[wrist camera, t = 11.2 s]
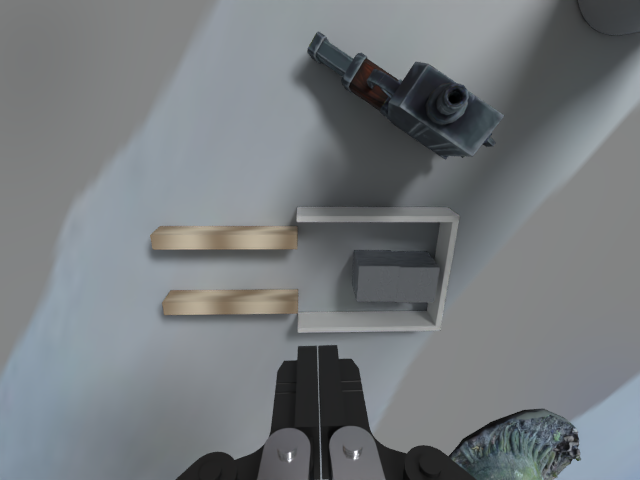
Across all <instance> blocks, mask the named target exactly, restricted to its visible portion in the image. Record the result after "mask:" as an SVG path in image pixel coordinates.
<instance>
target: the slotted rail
mask: <svg viewBox="0 0 640 480" xmlns="http://www.w3.org/2000/svg"><path fill="white" fill-rule="evenodd" d="M150 237H151V242H152V248H153V250H169V249H297V241H298V233H297V226H160V227H159V228H158V229H156V230H155V231H154V232H153V233H152V234H151V235H150ZM162 305H163V310H164V315H209V314H297V313H298V289H289V290H171V291H170V292H169V293H168V295H167V296H166V298H165V299H164V301H163V302H162Z"/></svg>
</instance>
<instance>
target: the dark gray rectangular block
mask: <svg viewBox="0 0 640 480" xmlns="http://www.w3.org/2000/svg"><path fill="white" fill-rule="evenodd" d="M399 269H400V266H399V264H398V262H397V260H396V259H395V257H394V255H393V253H392V251H391V250H354V259H353V275H352V285H353V289H354V293H355V297H356V301H357V302H396V294H397V286H398V278H399Z"/></svg>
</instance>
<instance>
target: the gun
mask: <svg viewBox="0 0 640 480" xmlns="http://www.w3.org/2000/svg"><path fill="white" fill-rule="evenodd" d="M307 52H308V54H309V55H310V56H311V58H312V59H314V60H315V61H317V62H318V63H320V62H322V63H324V64H325V65H327V66H328V67H330V68H331V69H333V70H334V71H335V72H337V73H338V74H340V75H341V76H343V78H342V84H343V86H344V87H345V89H346V90H348V91H349V92H353V93H355V94H356V95H358V96H359V97H361V98H362V99H364V100H365V101H367V102H368V103H369V104H371V105H372V106H374V107H375V108H377V109H378V110H379V111H380V113H381V114H383V115H384V116H386V117H387V118H388V119H389V120H390V121H391V122H392V123H393V124H394V125H395V126H397V127H398V128H400V129H401V130H403V131H404V132H406V133H407V134H409V135H410V136H411V137H413V138H414V139H416V140H417V141H419V142H420V143H422V144H423V145H425V146H426V147H428V148H429V149H430V150H432V151H433V152H435V153H436V154H438V155H439V156H441V157H442V158H444V159H446V158H447V157H448V156H461V157H462V158H463V157H465V156H473V155H474V154H475V153H476V152H477V150H478V149H479V148H480V146H481V145H482V144H483V145H485V146H486V147H490V146H494V145H495V143H496V142H495V141H494V140H493V139H492V138H491V137H490V136H491V135H492V133H491V132H492V131H493V130H494V128H495V127H496V126H497V125H498V123H499V122H500V121H501V119H502V118H503V117H504V115H503V114H501V113H500V112H498V111H497V110H496V109H494V108H493V107H491V106H490V105H488V104H487V103H485V102H484V101H482V100H481V99H479V98H478V97H476V96H475V95H473V94H472V93H471V92H469V91H468V90H467V89H466V88H465V86H464V85H461V84H458V83H456V82H454V81H453V80H451V79H450V78H448V77H447V76H446V75H444V74H443V73H441V72H440V71H438V70H437V69H435V68H434V67H432V66H431V65H429V64H426V63H420V62H415V63H414V65H413V66H412V68H411V69H410V71H409V72H408V74H407V75H406V77H405V78H404V80H403V81H402V80H398V79H396V78H395V77H393V76H392V75H390V74H389V73H387V72H386V71H385V70H383V69H382V68H380V67H379V66H377V65H376V64H374V63H373V62H371V61H370V60H368V59H367V56H365V55H364V54H362V53H358V54H357V55H356V56H355V57H354V59H353V58H351V57H350V56H348V55H347V54H345V53H344V52H342V51H341V50H340V49H338V48H337V47H335V46H334V45H332V44H331V43H329V41H328V39H327V37H326V36H324V35H323V34H321V33H320V32H317V33H316V35H315V37H314V38H313V40H312V42H311V44H310V45H309V47H308V51H307Z"/></svg>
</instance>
